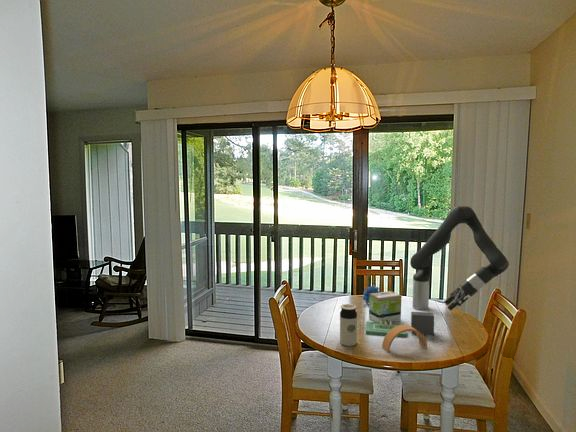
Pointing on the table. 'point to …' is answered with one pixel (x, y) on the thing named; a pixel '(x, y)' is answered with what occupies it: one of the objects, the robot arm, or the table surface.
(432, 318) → the block
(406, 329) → the arch
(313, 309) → the table surface
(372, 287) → the grapes
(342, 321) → the travel mug
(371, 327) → the board
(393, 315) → the tea box
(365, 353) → the table surface
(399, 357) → the table surface
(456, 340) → the table surface
